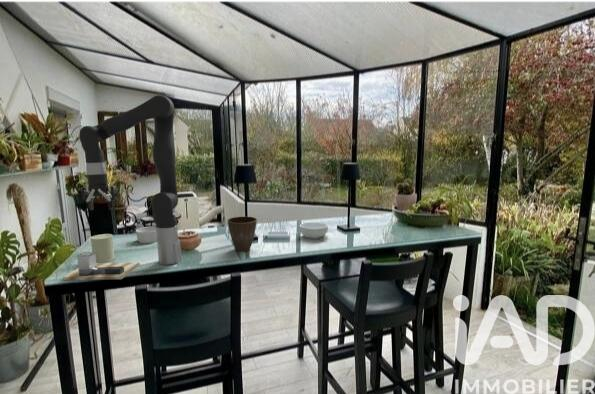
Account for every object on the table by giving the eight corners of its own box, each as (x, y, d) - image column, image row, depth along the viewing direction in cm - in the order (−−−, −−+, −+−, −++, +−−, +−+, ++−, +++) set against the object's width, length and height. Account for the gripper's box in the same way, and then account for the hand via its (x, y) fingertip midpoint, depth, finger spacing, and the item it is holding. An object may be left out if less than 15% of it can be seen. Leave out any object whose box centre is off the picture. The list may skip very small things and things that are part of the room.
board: (139, 265, 149) (139, 262, 149) (121, 279, 134) (121, 276, 133) (87, 265, 149) (87, 263, 149) (62, 280, 134) (62, 277, 133)
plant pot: (253, 243, 180) (252, 215, 177) (260, 251, 166) (259, 221, 164) (226, 247, 175) (225, 217, 172) (231, 255, 161) (230, 224, 158)
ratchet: (126, 269, 141) (125, 254, 140) (118, 275, 134) (117, 259, 133) (85, 270, 141) (83, 255, 139) (75, 276, 134) (73, 260, 133)
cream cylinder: (118, 259, 158) (115, 235, 156) (96, 264, 151) (93, 239, 149) (111, 255, 164) (108, 231, 162) (90, 260, 157) (87, 235, 155)
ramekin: (161, 242, 184) (160, 230, 183) (135, 245, 179) (134, 233, 178) (161, 236, 196) (160, 225, 195) (137, 239, 192) (136, 227, 191)
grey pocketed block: (96, 265, 139) (95, 252, 138) (89, 269, 135) (88, 255, 134) (85, 265, 139) (84, 252, 138) (78, 269, 135) (77, 255, 134)
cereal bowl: (328, 241, 184) (329, 228, 183) (299, 241, 184) (299, 229, 183) (326, 233, 200) (326, 221, 199) (299, 233, 201) (299, 221, 200)
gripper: (117, 171, 146) (122, 207, 148) (85, 172, 145) (90, 208, 148) (108, 173, 138) (113, 210, 141) (74, 174, 138) (79, 212, 140)
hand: (101, 209), depth 144 cm, fingers open, 8 cm apart
